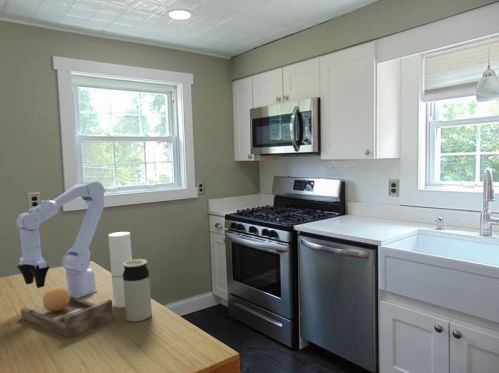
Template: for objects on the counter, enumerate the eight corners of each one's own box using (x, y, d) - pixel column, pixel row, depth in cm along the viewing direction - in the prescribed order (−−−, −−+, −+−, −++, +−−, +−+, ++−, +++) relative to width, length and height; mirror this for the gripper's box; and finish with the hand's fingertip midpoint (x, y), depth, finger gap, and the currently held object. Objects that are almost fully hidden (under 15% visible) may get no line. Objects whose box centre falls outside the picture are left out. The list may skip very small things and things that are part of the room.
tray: (65, 302, 138) (63, 286, 138) (113, 318, 122) (111, 300, 122) (21, 317, 126) (19, 300, 126) (68, 338, 110) (66, 318, 109)
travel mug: (138, 324, 117) (133, 267, 115) (120, 319, 121) (116, 264, 120) (157, 314, 124) (153, 260, 122) (140, 310, 128) (136, 257, 126)
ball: (62, 304, 132) (60, 281, 132) (75, 308, 128) (73, 285, 127) (39, 312, 126) (37, 289, 125) (52, 317, 121) (49, 293, 121)
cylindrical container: (139, 300, 136) (134, 232, 134) (125, 308, 130) (119, 236, 128) (124, 298, 139) (118, 231, 137) (109, 305, 133) (103, 235, 131)
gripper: (8, 247, 132) (13, 285, 134) (29, 252, 124) (33, 292, 125) (29, 243, 138) (33, 279, 139) (50, 247, 130) (54, 285, 131)
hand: (35, 285), depth 133 cm, fingers open, 7 cm apart
